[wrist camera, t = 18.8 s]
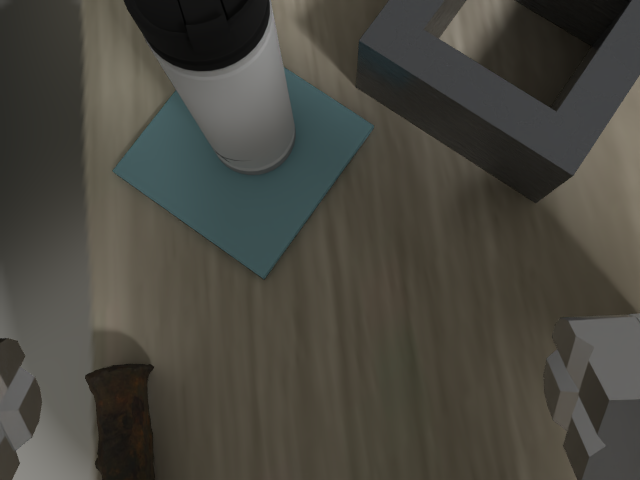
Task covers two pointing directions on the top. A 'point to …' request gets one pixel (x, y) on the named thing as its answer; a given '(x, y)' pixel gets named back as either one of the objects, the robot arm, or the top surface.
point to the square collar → (502, 87)
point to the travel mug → (225, 74)
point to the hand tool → (123, 422)
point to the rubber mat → (240, 189)
